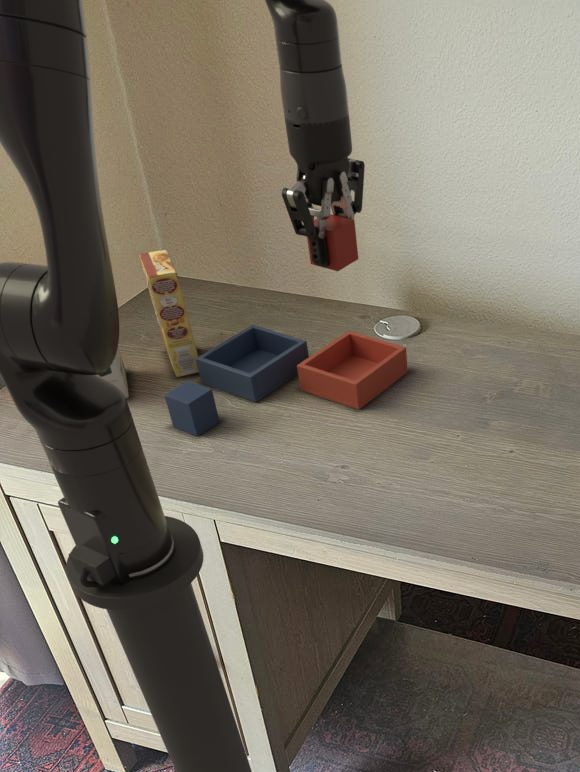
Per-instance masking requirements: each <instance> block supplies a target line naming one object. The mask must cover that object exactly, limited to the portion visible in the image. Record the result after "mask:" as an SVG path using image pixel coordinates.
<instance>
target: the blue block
mask: <svg viewBox="0 0 580 772" xmlns="http://www.w3.org/2000/svg"><path fill="white" fill-rule="evenodd" d="M163 396H164V400H165V403H166V406H167V410H168V413H169V417H170V421H171V424H172V427H173V428H175V429H177V430H180V431H182V432H185V433H188V434H191V435H193V436H196V437H198V436H200V435H202V434H203V433H204V432H206V431H207V430H209V429H210V428H212V427H213V426H215V425H216V424H217V423H219V422H220V417H219V411H218V409H217V405H216V400H215V396H214V393H213V389H212V388H210V387H207V386H204V385H203V384H202V385H201V384H198V383H196V382H193V381H190V380H186V381H184V382H183V383H181V384H180V385H178V386H177V387H174V388H173V389H172V390H170V391H168V392H167V393H165V394H163Z"/></svg>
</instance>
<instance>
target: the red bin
mask: <svg viewBox="0 0 580 772" xmlns="http://www.w3.org/2000/svg"><path fill="white" fill-rule="evenodd" d="M407 356H408V355H407V347H405V346H403V345H399V344H396V343H392V342H388V341H385V340H382V339H380V338H379V339H378V338H376V337H373V336H368V335H365V334H362V333H359V332H356V331H352V330H348V331H346V332H345V333H343V334H341V335H340V336H338V337H337V338H335V339H334V340H332V341H331V342H329V343H328V344H326V345H325V346H323V347H322V348H321V349H319V350H317V351H316V352H314V353H313V354H311V355H310V356H309V358H307V359H306V360H304V361H303V362H301V363H300V364H298V365H297V369H298V374H297V375H298V381H299V387H300V391H302V392H305V393H308V394H311V395H314V396H317V397H320V398H323V399H326V400H329V401H332V402H335V403H337V404H340V405H344V406H346V407H350V408H351V409H352V408H353V409H356V410H361V409H362V408H363V407H365V406H366V405H367V404H368V403H370V402H371V401H372V400H373V399H375V398H376V397H378V396H379V395H380V394H381V393H382V392H384V391H385V390H387V389H388V388H389V387H391V386H392V385H393V384H394V383H396V381H398V380H400V379H402V377H403V376H405V375H406V374H407V373H408V372H409V370H408V357H407Z"/></svg>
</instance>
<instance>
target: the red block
mask: <svg viewBox="0 0 580 772" xmlns="http://www.w3.org/2000/svg"><path fill="white" fill-rule="evenodd" d="M317 222H318V219H317V218H314V226H317ZM356 231H357V230H356V222H355V219H354V220H353V219H348V218H344V217H340V216H336V215H333V213H330V217H329V218H327V222H326V235H325V237H327V244H328V251H329V259H330V265H329V266H327V267H325V268H324V269H326V270H332V271H335V272H340V271H341V270H343V269H344V268H346V267H348V266H349V265H351V264H353V263H354V262H356V261H358V260H359V251H358V242H357V232H356ZM306 240H307V247H308V254H309V255H308V256H309V261H310V265H313V266H317V265H315V264H314V262H313V260H312V257H311V250H310V242H309V238H308V237H306ZM317 267H318V266H317ZM319 267H320V268H322V267H321V266H319Z"/></svg>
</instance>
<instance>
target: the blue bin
mask: <svg viewBox="0 0 580 772" xmlns="http://www.w3.org/2000/svg"><path fill="white" fill-rule="evenodd" d="M308 347H309V346H308V341H307V340H304V339H301V338H299V337H294V336H291V335H288V334H285V333H283V332H282V333H281V332H279V331H275V330H272V329H269V328H266V327H263V326H259V325H256V324H250V325H249V326H248V327H246V328H244V329H243V330H240V331H239V332H238V333H236V334H234V335H232V336H231V337H229V338H228V339H225V340H224V341H222V342H221V343H219V344H217V345H215V346H213V347H212V348H210V349H209V350H207V351H205V352H203V353H202V354H201V355H198V357H197V358H196V363H197V367H198V371H199V373H198V375H199V378H200V382H201V384H202V385H206V386H209V387H211V388H213V389H217V390H220V391H222V392H225V393H228V394H231V395H234V396H237V397H240V398H243V399H245V400H248V401H250V402H253V403H257V402H258V401H260V400H261V399H263V398H264V397H266V396H267V395H269V394H271V393H272V392H274V391H275V390H276V389H278V388H279V387H280V386H283V385H284V384H285V383H287V382H288V381H290V380H291V379H292V378H294V377H296V376H297V375H298V369H297V365H298V364H300V363H301V362H303V361H304V360H306V359H307V358H309V357H310V356H309V355H310V354H309V348H308Z"/></svg>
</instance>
